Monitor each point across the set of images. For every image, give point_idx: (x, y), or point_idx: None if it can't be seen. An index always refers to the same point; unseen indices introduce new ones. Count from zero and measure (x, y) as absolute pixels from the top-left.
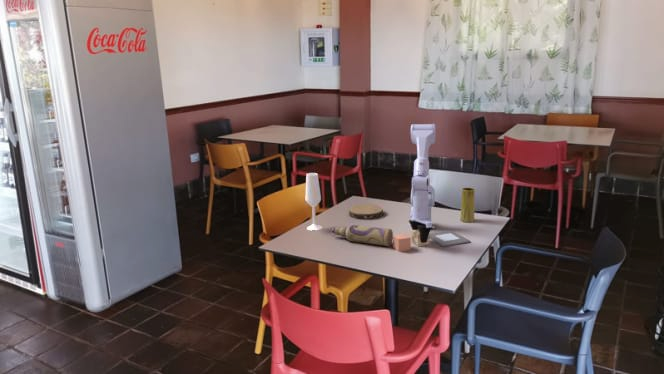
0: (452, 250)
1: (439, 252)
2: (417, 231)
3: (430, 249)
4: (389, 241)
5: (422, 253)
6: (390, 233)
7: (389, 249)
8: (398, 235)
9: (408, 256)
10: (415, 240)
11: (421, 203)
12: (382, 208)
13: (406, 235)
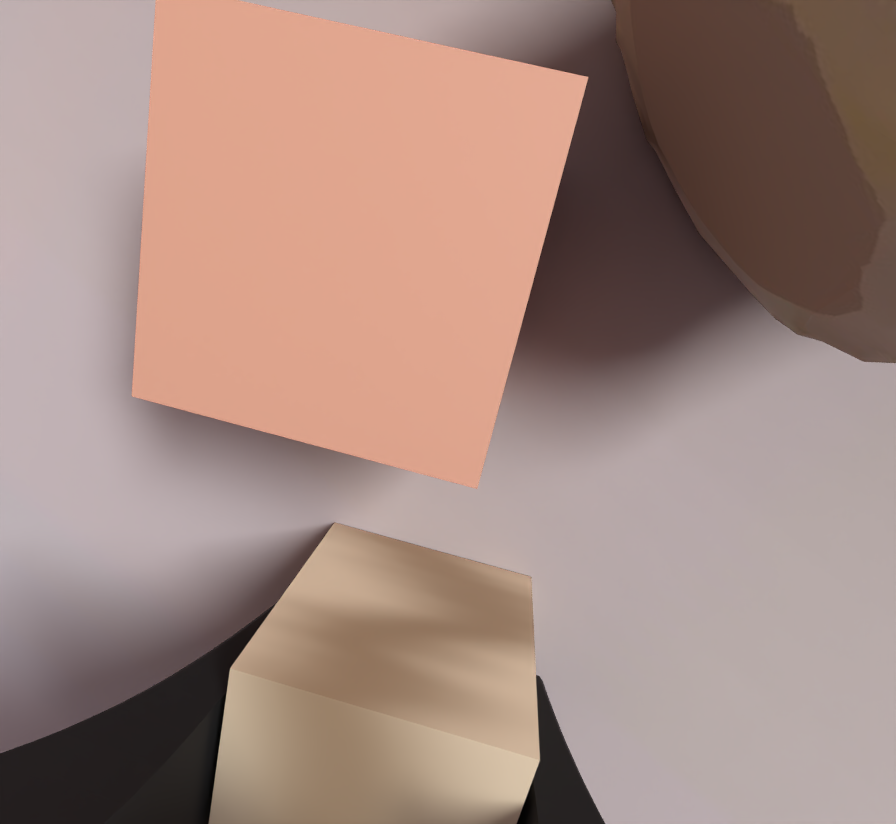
0: (11, 726)
1: (15, 581)
2: (382, 782)
3: (151, 572)
4: (665, 103)
5: (73, 387)
6: (808, 151)
7: (508, 24)
8: (450, 230)
9: (56, 117)
10: (383, 583)
11: None
12: None
13: (317, 419)
